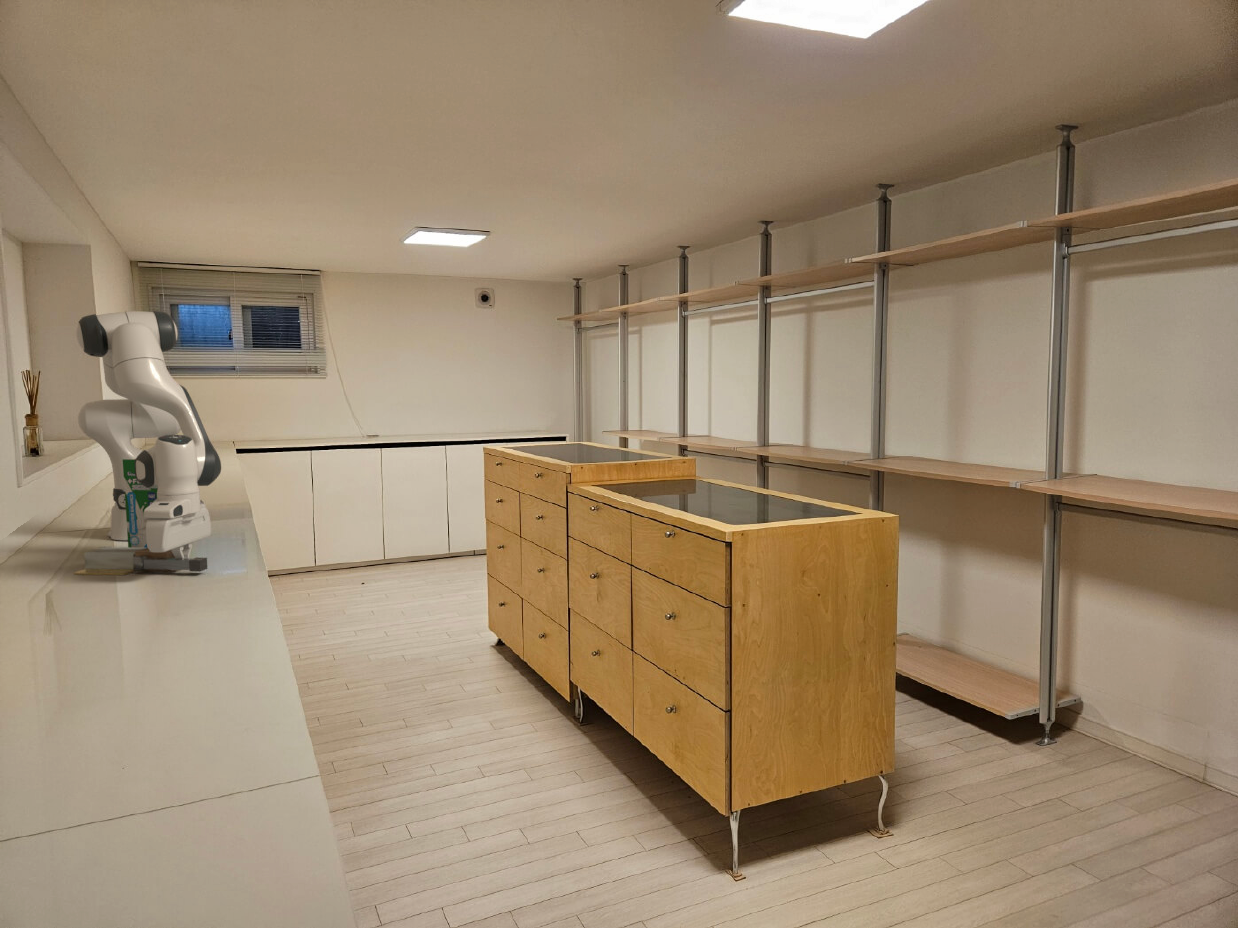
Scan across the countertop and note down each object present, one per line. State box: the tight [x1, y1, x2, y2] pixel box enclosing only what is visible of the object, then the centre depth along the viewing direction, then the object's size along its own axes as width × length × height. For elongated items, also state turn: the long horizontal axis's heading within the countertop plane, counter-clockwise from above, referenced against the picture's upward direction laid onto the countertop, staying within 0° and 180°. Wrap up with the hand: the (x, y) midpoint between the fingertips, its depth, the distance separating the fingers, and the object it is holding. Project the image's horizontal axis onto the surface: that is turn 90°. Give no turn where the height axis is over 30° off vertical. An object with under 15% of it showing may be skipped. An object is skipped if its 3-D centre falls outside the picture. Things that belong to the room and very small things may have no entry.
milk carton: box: [123, 459, 158, 548], centre depth 211 cm, size 9×9×25 cm
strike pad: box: [73, 568, 135, 576], centre depth 192 cm, size 4×12×1 cm, turn 86°
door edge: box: [83, 546, 175, 572], centre depth 198 cm, size 8×20×4 cm, turn 86°
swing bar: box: [133, 555, 208, 572], centre depth 191 cm, size 17×3×3 cm, turn 84°
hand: (182, 563), depth 193 cm, fingers closed
